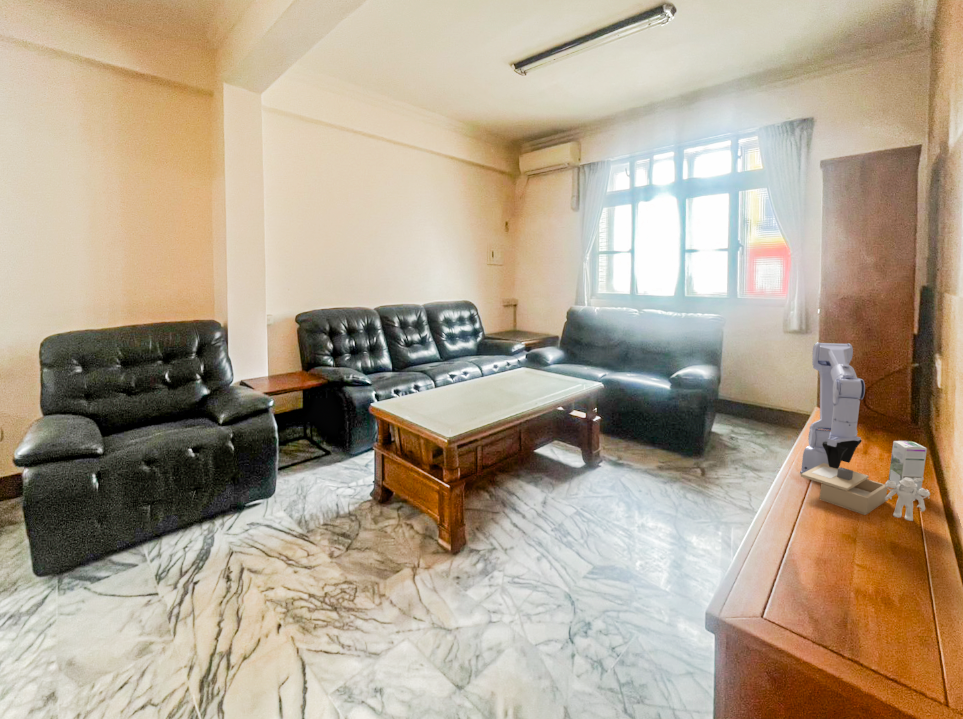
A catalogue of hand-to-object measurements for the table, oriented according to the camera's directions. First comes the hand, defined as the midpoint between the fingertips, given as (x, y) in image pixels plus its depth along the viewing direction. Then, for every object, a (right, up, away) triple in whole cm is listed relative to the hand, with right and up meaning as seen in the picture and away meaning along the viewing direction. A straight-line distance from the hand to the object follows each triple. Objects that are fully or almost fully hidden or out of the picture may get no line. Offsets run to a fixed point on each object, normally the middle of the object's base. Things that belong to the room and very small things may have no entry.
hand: (839, 464), depth 134 cm
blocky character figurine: (+10, -12, -10) cm, 18 cm away
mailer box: (+4, -11, 0) cm, 11 cm away
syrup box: (+25, -9, +6) cm, 27 cm away
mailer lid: (+1, -5, +3) cm, 6 cm away
